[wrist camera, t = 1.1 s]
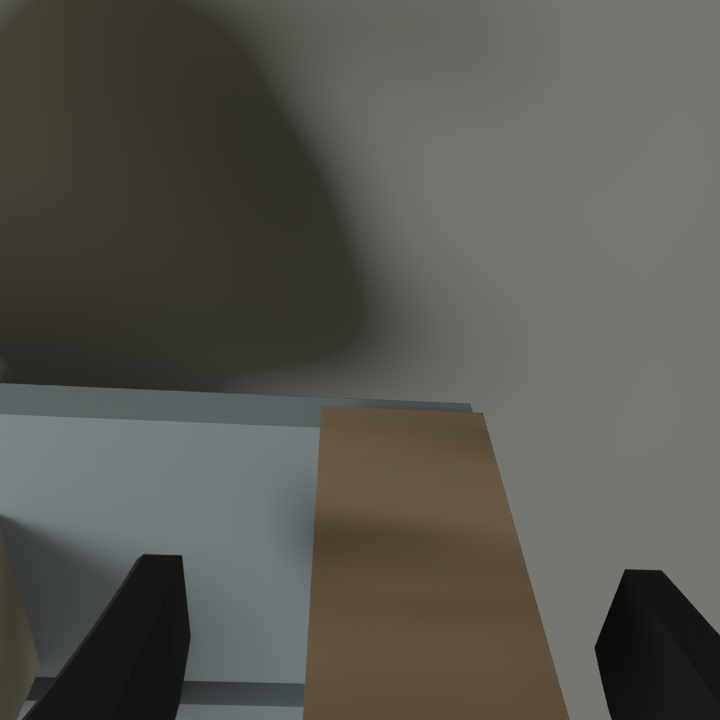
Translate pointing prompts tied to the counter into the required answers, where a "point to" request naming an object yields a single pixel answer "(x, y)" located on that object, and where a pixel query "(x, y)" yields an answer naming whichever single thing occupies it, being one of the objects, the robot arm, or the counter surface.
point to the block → (14, 643)
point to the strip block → (284, 543)
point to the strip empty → (220, 700)
